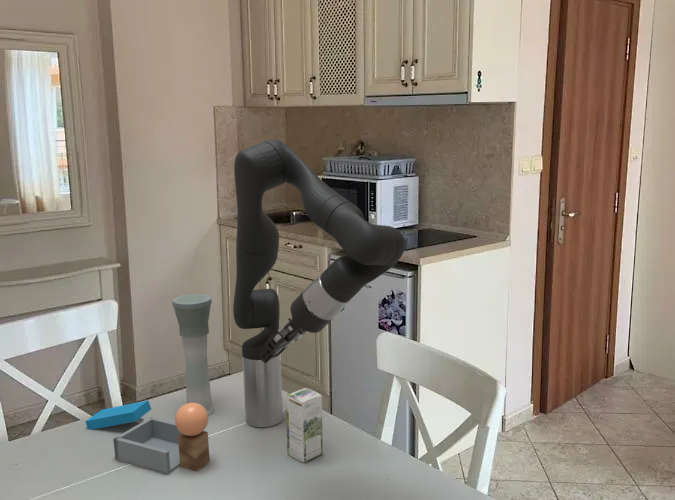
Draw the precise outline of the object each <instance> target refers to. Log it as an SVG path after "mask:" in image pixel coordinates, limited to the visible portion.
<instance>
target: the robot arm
mask: <svg viewBox="0 0 675 500" xmlns="http://www.w3.org/2000/svg"><path fill="white" fill-rule="evenodd" d="M233 165H234V166H233V169H234V170H233V171H234V173H233V175H234V183H235V184H234V185H235V195H236V207H237V208H236V211H237V217H236V220H237V221H236V222H237V224H236V227H237V228H236V246H235V257H236V259H235V260H236V262H235V263H236V265H235V266H236V276H235V277H236V279H235V287H234V296H233V307H232V308H233V309H232V311H233V319H234V322H235V325H236V326H237V327H238V328H239V329H241V330H250V329H251V330H252V329H253V330H254V329H261V328H263V329H262V330H261V331H260V332H259V333H258V334H256V335H254V336H252V337H250V338H249V339H247V340H245V341H244V342H243V343H242V345H241V356H242V357H241V358H242V374H243V390H244V391H243V394H244V410H245V411H244V412H245V422H246V423H247V424H248V425H249V426H251V427H255V428H269V427H270V428H271V427H274V426H276V425H277V424H280V423H281V422H282V421H283V419H284V409H283V386H282V384H283V383H282V365H281V364H282V363H281V354H282V353H283V352H284V351H285V350H286V349H287V348H288V347H289V346H292V345H293V344H294V342H295V343H297V341H299V340H301V338H303V336H305V335H306V334H307V333H312V334H315V333H316V334H317V333H320V332H321V331H323V329H325V328H326V326H327V325H328V324H329V323H330V322H332V321H333V319H334V318H336V317H337V316H338V315H339V314H340V313H341V312H342V311H343V309H344V308H345V307H346V305H347V304H348V303H349V302H350V301H351V300H352V299H353V298H354V297H355V296H356V295H358V293H359V292H360V291H361V290H362V288H364V287H365V286H366V285H368V284H369V283H371V282H373V281H374V280H376V279H378V278H379V277H380V276H382V275H383V274H385V273H386V272H387V271H389V270H390V269H391V268H392V267H394V266H395V265H396V264H397V263H398V262H399V260H401V258H402V256H403V255H404V251H405V249H406V248H405V247H406V243H405V242H406V241H405V237H404V235H403V233H402V232H401V231H400V230H399V229H398V228H396V227H394V226H390V225H382V224H374V223H371V222H369V221H367V220H365V217H364V214H363V212H362V210H361V209H360V208H359V207H358V206H357V205H355V204H354V203H353V202H351V201H349V200H348V199H347V198H345V197H344V196H342V195H341V194H340V193H338V192H337V191H335V190H334V189H332V188H331V187H330V186H329V185H328V184H326V182H324V181H323V180H322V179H321V178H320V177H319V176H318V174H316V172H314V171H313V170H312V168H310V166H309V164H306V162H305V161H304V160H303V159H302V158H301V157H300V156H299V155H298V154H297V153H296V152H295V151H294V150H293V149H292V148H291V147H290V146H289V145H287V144H286V143H284V142H283V141H281V140H279V139H277V138H276V139H274V138H271V139H267V140H263V141H262V142H259V143H256V144H254V145H253V144H252V145H250V146H249V147H246V148H243V149H242V150H240V151H239V152H238V153H237V154H236V156H235V159H234V164H233ZM284 184H290V185H291V186H293V187H295V188H296V189H297V190H299V192H300V195H301V200H302V204H303V208H304V210H305V213H306V214H307V216H308V218H309V219H310V220H311V221H312V223H314V224H315V225H316V226H317V227H318V228H320V229H321V230H323V231H324V232H325V233H326V234H327V235H329V236H331V237H332V238H333V239H335V241H336V242H337V244H338V245H339V246H340V248H341V249H342V250H343V252H345V254H346V255H342V256H341V255H340V256H338V257H337V258H336V259H335V260H333V262H331V263H330V264H329V266H327V267H326V268H325V270H324V271H323V272H322V273H321V274H320V275H319V276H317V277H316V278H315V279H314V280H312V282H310V283H309V285H308V286H307V287H306V288H305V289H304V290H303V291H301V293H300V294H299V295H298V296H297V297H296V298H295V299H294V301H292V303H291V304H290V309H289V310H290V314H291V317H289V318H286V320H285V321H284V322H283V323H282V325H281V327H280V311H281V309H280V300H279V294H278V293H277V290H275V289H274V288H259V289H255V288H256V286H257V285H258V284H259V282H261V280H263V279H264V278H265V277H266V276H267V275H268V273H270V271H271V270H272V269H273V267H274V266H275V264H276V262H277V260H278V256H279V247H280V233H279V229H278V227H277V225H276V224H275V223H274V221H273V220H272V219H271V218H270V217H269V215H267V214H266V213H265V211H264V210H263V198H264V197H263V196H264V194H265V193H266V192H267V191H270V190H272V189H274V188H277V187H279V186H281V185H284Z"/></svg>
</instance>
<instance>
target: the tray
mask: <svg viewBox="0 0 675 500" xmlns="http://www.w3.org/2000/svg"><path fill="white" fill-rule="evenodd" d="M181 434H182V433H181V432H180V431H179V430H178V429H177V427H176V424H175V421H170V420H165V419H162V418H161V419H160V418H158V417H153V416H150V417H149V418H148V419H145V421H144V422H142V423H137V425H135V426H134V427H133V426H132V427H131V428H130V429H128V430H126V431H125V432H123V433H121V434H119V435H117V436H115V437H114V438H113V439H112V441H113V448H114V459H115V461H120V462H123V463H126V464H130V465H133V466H136V467H140V468H143V469H147V470H150V471H154V472H156V473H157V472H158V473H161V474H164V475H169V474H171V473H173V471H175V470H176V469H177V468H179V467H180V457H179V445H178V436H180V435H181Z"/></svg>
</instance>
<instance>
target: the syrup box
mask: <svg viewBox="0 0 675 500" xmlns="http://www.w3.org/2000/svg"><path fill="white" fill-rule="evenodd" d="M285 412H286V415H285V416H286V448H287V449H286V451H287V452H286V453H287V455H288V456H289V457H291V458H293V459H295V460H297V461H299V462H302V463H303V464H306V463H307V462H309V461H311V460H314V459H315V458H317V457H319V456H321V455H323V454H324V453H323V446H324V445H323V396H322V395H321V394H320V393H318V391H315V390H313V389H311V388H307V387H303V388H301V389H299V390H296V391H293V392H291V393H288V394H287V395H285Z"/></svg>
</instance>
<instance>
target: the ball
mask: <svg viewBox="0 0 675 500" xmlns="http://www.w3.org/2000/svg"><path fill="white" fill-rule="evenodd" d="M174 417H175V418H174V423H175V424H176V427H177V429H178V430H179V431H180V432H181V433H182V434H184V435H187V436H195V435H198V434H200V433H201V432H203V431H205V430H206V428H207V426H208V424H209V416H208V413H207V411H206V409H205V408H204V407H203V406H202V405H200V404H198V403H187V402H186V403H185V404H183V405H182V406H181V407H179V409H178V410H177V412H176V413H175V416H174Z"/></svg>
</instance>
